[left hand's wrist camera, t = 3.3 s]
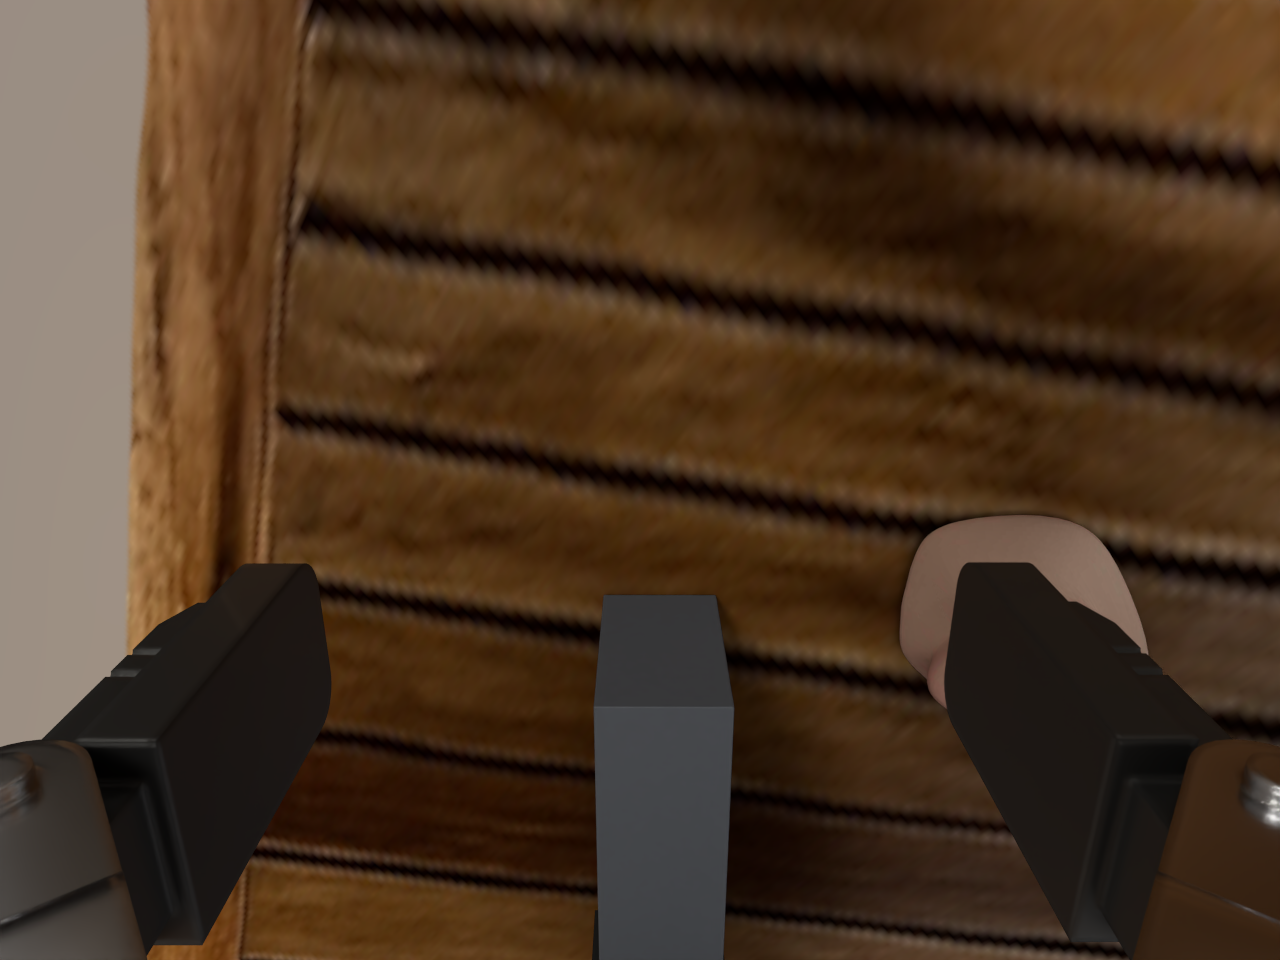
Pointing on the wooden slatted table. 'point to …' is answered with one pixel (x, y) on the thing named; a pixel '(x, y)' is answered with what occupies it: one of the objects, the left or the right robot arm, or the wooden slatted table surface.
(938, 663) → the anatomical model
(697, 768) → the bar
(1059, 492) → the wooden slatted table surface
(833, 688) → the wooden slatted table surface
